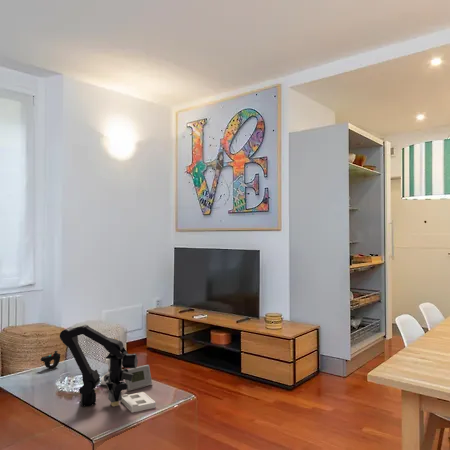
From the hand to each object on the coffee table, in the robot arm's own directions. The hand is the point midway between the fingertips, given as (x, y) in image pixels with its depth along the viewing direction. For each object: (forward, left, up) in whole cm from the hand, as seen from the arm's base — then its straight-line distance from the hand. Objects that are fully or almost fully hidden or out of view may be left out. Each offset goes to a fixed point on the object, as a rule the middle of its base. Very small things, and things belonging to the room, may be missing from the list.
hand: (114, 399), depth 205 cm
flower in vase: (+8, +31, -3) cm, 32 cm away
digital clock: (+19, +18, -3) cm, 26 cm away
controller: (-16, +75, -3) cm, 77 cm away
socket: (+10, -5, -2) cm, 11 cm away
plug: (0, 0, -2) cm, 2 cm away
